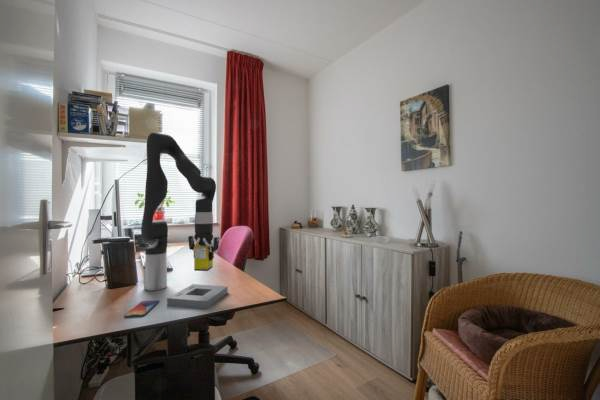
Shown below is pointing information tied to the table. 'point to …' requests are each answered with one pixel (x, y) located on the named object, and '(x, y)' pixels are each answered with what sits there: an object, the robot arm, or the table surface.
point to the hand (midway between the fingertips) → (203, 259)
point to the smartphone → (141, 309)
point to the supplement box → (202, 258)
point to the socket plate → (191, 299)
